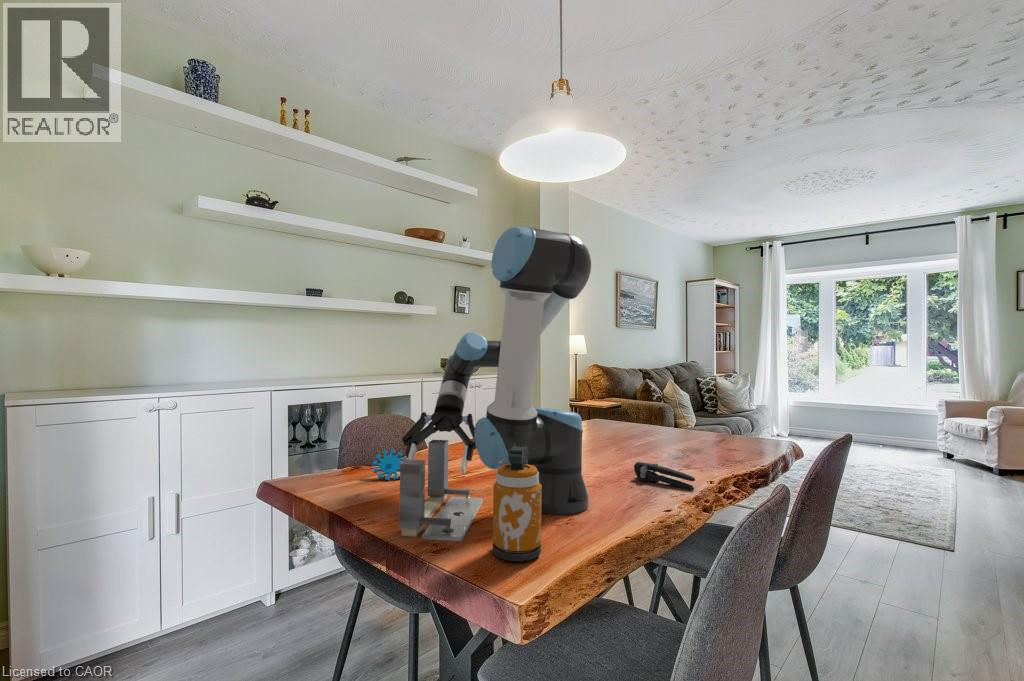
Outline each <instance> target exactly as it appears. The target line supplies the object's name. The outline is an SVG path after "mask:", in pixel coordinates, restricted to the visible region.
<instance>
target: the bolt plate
mask: <svg viewBox="0 0 1024 681" xmlns="http://www.w3.org/2000/svg"><path fill="white" fill-rule="evenodd" d="M483 502H484V498H483V497H471V496H470V498H466V496H452V495H451V496H450V497H449V499H448V500H447V501H446V503H445V504H444V506H443V507H442V508H441V509H440V511H439V512H438V514H437V515H436V516H435V517H434V518H445V519H451V525H450V529H448V530H447V529H445V526H443V525H428V527H427V528H425V530H424V532H423V533H422V535H421V540H431V541H446V542H447V541H450V542H463V540H464V538H465V536H466V534H467V532H468V530H469V528H470V527H471V525H472V523H473V521H474V520H475V517H476V515H477V513H478V511H479V510H480V507H481V506H482V503H483Z"/></svg>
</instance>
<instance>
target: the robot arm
mask: <svg viewBox="0 0 1024 681" xmlns="http://www.w3.org/2000/svg"><path fill="white" fill-rule="evenodd" d="M491 256H492V257H491V268H492V270H491V272H492V275H493V277H494V278H495V279H496V280H497V281H499V282H500V283H499V289H500V291H501V292H502V294H503V295H504V297H505V300H504V307H503V308H504V310H503V318H502V326H501V336H500V340H487V339H486V337H484V336H483V335H482V334H479V333H477V332H474V331H472V332H471V331H470V332H466V333H464V334H463V336H462V337H461V338H460V340H459V341H458V343H457V344H456V346H455V349H454V352H453V354H452V355H449V356H448V358H447V361H446V363H445V364H444V365H445V366H444V371H443V376H442V380H441V383H440V387H439V392H438V396H437V399H436V403H435V408H434V412H433V413H432V414H427V412H425V411H424V412H422V413H421V415H420V417H419V419H418V420H417V421H416V422H415V423H414V424H413V426H411V428H409V430H408V431H407V433H405V434H404V435H403V437H402V438H401V439H402V443H403V445H404V447H406V451H405V457H407V459H416V455H417V452H418V449H417V446H418V445H419V444H421V443H422V442H424V441H425V440H426V439H427V438H429V437H430V436H431V435H433V434H436V433H437V432H438V431H439V433H440V432H447V433H449V432H450V433H451V432H453V431H454V432H455V434H456V435H457V436H458V437H459V438H460V439H461V441H462V442H463V444H464V448H463V453H462V459H461V466H460V472H461V475H466V472H467V466H468V462H471V461H472V459H473V456H474V450H476V451H477V453H478V457H479V458H480V460H481V462H482V464H484V466H485V467H486V468H488V469H490V470H494V471H495V470H498V469H499V467H500V466H502V465H505V464H511V463H510V460H509V461H507V462H505V463H502V464H499V462H500V461H502V460H504V459H506V458H508V455H509V454H510V449H512V448H513V446H514V443H515V445H516V446H519V447H525V443H526V445H527V449H528V465H532V466H534V467H536V468H537V470H538V472H539V483H540V484H541V485H542V505H541V514H542V513H543V514H548V515H573V514H574V515H576V514H580V513H582V512H584V511H586V510H588V509H589V503H590V502H589V500H590V499H589V497H590V496H589V493H588V490H587V487H586V482H585V481H584V476H583V473H582V472H583V470H582V467H583V466H582V465H583V464H582V463H583V462H582V460H583V457H582V456H583V433H584V430H583V420H582V417H581V415H580V414H579V413H578V412H574V411H570V410H564V409H556V408H550V407H549V408H548V407H535V408H534V406H533V400H534V399H533V398H534V392H535V391H534V390H535V381H536V375H537V374H536V373H537V365H538V359H539V358H538V356H539V350H540V340H541V335H542V334H543V333H544V332H545V330H546V329H547V328H548V327H549V325H550V324H551V323H552V321H553V320H554V319H555V318H556V317H557V315H558V314H559V313H560V312H561V310H562V309H563V307H564V306H566V304H567V303H568V302H569V301H570V300H574V299H576V298H577V297H578V296H579V294H580V293H582V291H583V290H584V288H585V286H586V285H587V283H588V281H589V280H590V279H589V278H590V275H591V271H592V259H591V255H590V251H589V249H588V247H587V246H586V245H585V243H584V242H583V240H581V239H580V238H579V237H576V236H575V235H573V234H570V233H565V232H556V231H551V230H546V229H539V228H536V227H529V226H527V227H525V226H523V227H522V226H512V227H509V228H508V229H506V230H504V231H503V232H502V233H501V235H500V236H499V238H498V240H497V241H496V242H495V245H494V248H493V251H492V255H491ZM477 368H497V376H496V382H495V383H496V384H495V392H494V394H495V395H494V400H493V402H491V403H490V404H489V405H487V408H486V415H485V417H483V416H482V417H481V418H479V419H477V421H476V423H475V425H474V419H473V414H472V413H468V414H467V415H464V416H463V413H464V408H465V401H466V398H467V393H468V389H469V388H468V386H469V383H470V379H471V378H472V376H473V374H474V372H475V371H476V370H477ZM463 422H464V424H465V425H467V426H468V429H469V431H470V436H471V437H472V440H471V438H470V437H469V436H468V434H467V433H466V432H465V430H464V429H463V428H462V427H461V424H462V423H463ZM427 424H428V425H427ZM526 457H527V454H526ZM507 460H508V459H507ZM505 461H506V460H505ZM503 462H504V461H503ZM525 464H526V462H525Z"/></svg>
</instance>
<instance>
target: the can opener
mask: <svg viewBox="0 0 1024 681" xmlns="http://www.w3.org/2000/svg"><path fill="white" fill-rule="evenodd" d="M633 468H634V474H635V476H636V477H637V478H638V480H640V481H642V482H644V483H649V482H661V483H665V484H668V485H670V486H673V487H675V488H677V489H681V490H688V491H693V490H694V489H695V488H694V486H693V485H691V484H689V483H686V482H684V481H681V480H686V481H687V482H695V481H696V479H695V477H694V476H692V475H690V474H687V473H684V472H681V471H678V470H676V469H672V468H670V467H665V466H663V465H662V466H661V465H659V464H658V463H655V462H654V463H648V462H642V461H637V462H635V463H634V467H633ZM658 473H659V474H658ZM665 475H666V476H665ZM668 476H669V477H668ZM672 477H675V478H678V480H677V479H674V478H672ZM679 479H681V480H679Z"/></svg>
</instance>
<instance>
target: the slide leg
mask: <svg viewBox="0 0 1024 681" xmlns="http://www.w3.org/2000/svg"><path fill="white" fill-rule="evenodd" d="M427 447H428V448H427V450H428V453H427V454H428V456H427V460H428V461H427V497H430V496H433V497H444V496H445V495H446V494H447V495H458V496H459V495H460V496H461V495H462V496H465V497H466V498H470V497H471V496H470V495H471V489H466V488H463V489H462V488H449V487H448V486H449V484H448V483H449V439H431V441H429V442H428V446H427Z"/></svg>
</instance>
